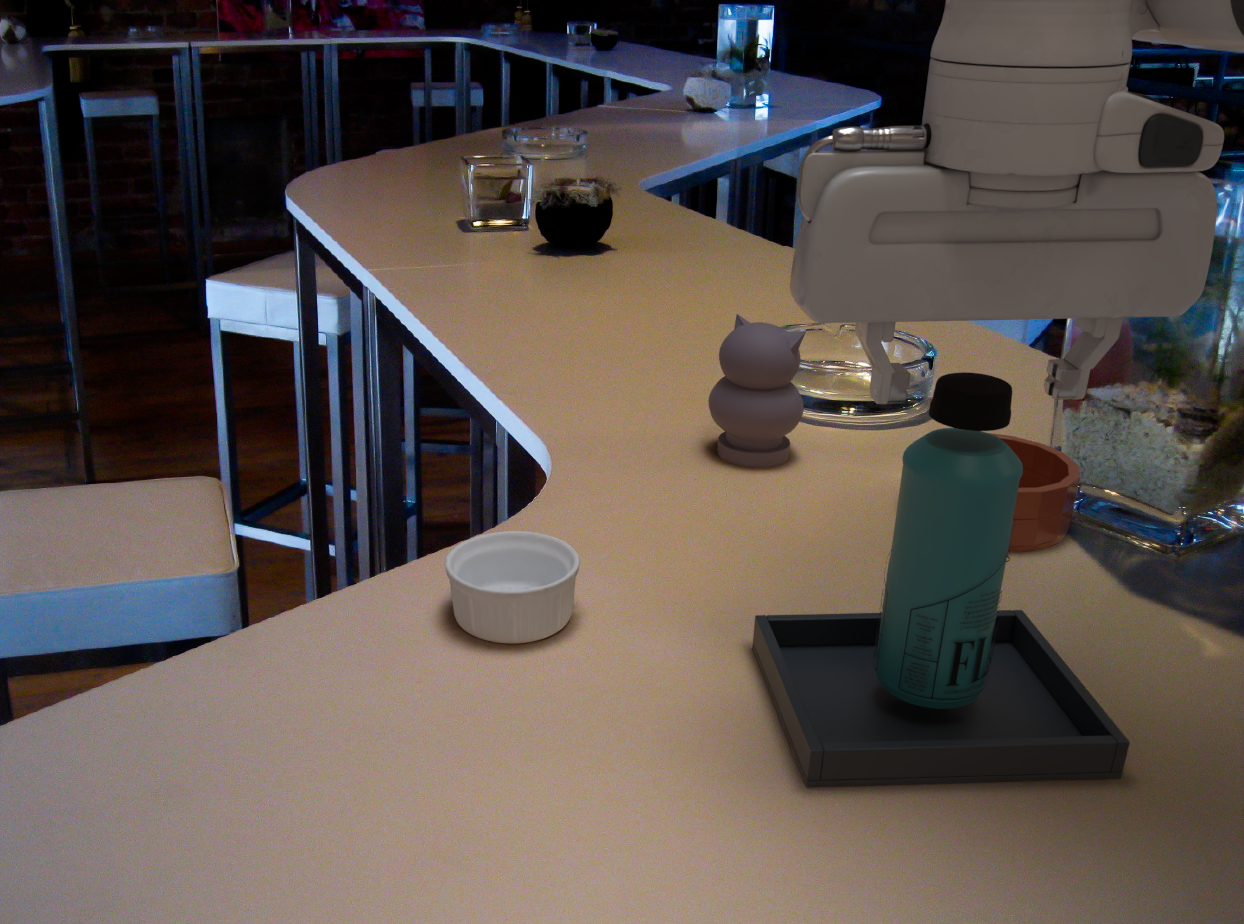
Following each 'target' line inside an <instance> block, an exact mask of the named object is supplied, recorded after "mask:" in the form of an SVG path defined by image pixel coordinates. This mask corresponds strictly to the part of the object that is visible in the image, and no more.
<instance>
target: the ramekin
mask: <svg viewBox="0 0 1244 924" xmlns="http://www.w3.org/2000/svg"><path fill="white" fill-rule="evenodd" d="M580 564H581V559H580V556H579V553H578V552H577V550H576V549H575V548H574V547H573V546H571V545H570V543H568V542H566V541H564V540H562V539H560V538H558V537H555V536H552V535H549V534H546V533H545V534H544V533H541V532H535V531H524V530H522V531H521V530H519V531H518V530H510V531H508V530H506V531H498V532H497V531H496V532H490V533H485V534H481V535H477V536H475V537H471V538H469V539H467V540H464V541H462V542H460V543H459V544H457V545H456V546H454V547H453V548H451V550H450V551H449V552H448V554H447V556H446V557H445V561H444V567H445V569H444V570H445V573H446V576H447V578H448V580H449V586H450V594H451V601H452V609H453V614H454V618H455V620H456V623H457V624H458V625H459V627H460V628H462V629H463V630H464V631H465V632H467V634H469V635H472V636H473V637H476V638H478V639H480V640H484V641H487V642H491V643H498V644H525V643H531V642H536V641H541V640H543V639H545V638H549V637H551V636H553V635H555V634H556V633H558V632H559V631H561V630H562V629H563V628H564V627H565V626H566V625H567V624H568V622H569V621H570V619H571V616H572V614H573V608H574V601H575V590H576V580H577V576H578V574H579V570H580Z"/></svg>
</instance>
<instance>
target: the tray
mask: <svg viewBox="0 0 1244 924" xmlns="http://www.w3.org/2000/svg"><path fill="white" fill-rule="evenodd" d="M998 611H999V609H997V612H998ZM880 613H881V614H880ZM879 614H880V616H879ZM998 614H999V615H998ZM881 616H882V612H855V613H854V612H852V613H849V612H848V613H808V614H807V613H805V614H804V613H803V614H767V615H765V614H758V615H757V614H756V615H755V616H754V625H753V636H752V647H751V649H752V652H753V654H754V657H755V659H756V662H757V664H758V667H759V669H760V672H761V675H762V677H763V679H764V682H765V685H766V687H767V691H768V692H769V695H770V697H771V700H772V703H773V705H774V708H775V711H776V714H777V716H778V718H779V720H780V723H781V726H782V729H783V732H784V734H785V736H786V738H787V741H788V744H789V746H790V749H791V752H792V755H793V757H794V760H795V762H796V765H797V767H798V769H799V772H800V775H801V777H802V780H803V782H804V785H805V787H806V788H807V789H811V788H843V787H845V788H850V787H882V786H883V787H885V786H917V785H919V786H921V785H950V784H951V785H952V784H953V785H955V784H985V783H991V784H992V783H1020V782H1023V783H1025V782H1026V783H1027V782H1056V781H1058V782H1059V781H1092V780H1093V781H1094V780H1121V779H1122V778H1123V777H1122V776H1123V772H1124V767H1125V764H1126V761H1127V756H1128V753H1129V752H1128V751H1129V748H1130V744H1131V742H1130V740H1129V739H1128V738H1127V736H1126V735H1125V734H1124V733H1123V732H1122V730H1121V729H1120V728H1119V727H1118V726H1117V725H1116V723H1115V722H1114V721H1113V719H1112V718H1111V717H1110V716H1109V714H1108V713H1107V712H1106V711H1105V709H1104V708H1103V707H1102V705H1100V703H1099V702H1098V701H1097V700H1096V698H1095V697H1094V696H1093V694H1091V693H1090V691H1089V690H1088V689H1087V687H1086V686H1085V685H1084V684H1083V683H1082V681H1081V680H1080V679H1079V678H1078V676H1077V675H1076V674H1075V673H1074V672H1073V671H1072V669H1071V668H1070V666H1068V664H1067V663H1066V662H1065V660H1064V659H1063V658H1062V657H1061V656H1060V654H1059V653H1058V651H1056V649H1055V648H1054V647H1053V646H1052V644H1050V642H1049V641H1048V639H1047V638H1046V637H1045V635H1044V634H1042V632H1041V631H1040V630H1039V629H1038V627H1037V626H1036V625H1035V624H1034V622H1033V621H1032V620H1031V619H1030V617H1028V615H1027V614H1026V613H1025V611H1024V610H1022V609H1012V610H1011V609H1000V611H999V612H998V613H997V615H996V616H998V617H997V619H998V621H997V622H996V624H995V627H994V631H993V637H992V642H991V648H990V656H991V657H992V659H991V664H990V663H989V659H988V664H987V665H989V668H988V667H987V670H989V671H988V673H987V674H986V675H985V680H986V681H984V682H985V683H984V685H983V688H984V687H985V688H984V689H983V688H982V689H983V690H982V691H981V692H980V694H979V696H978V697H977V698H976V699H975V700H974V701H973V702H972V703H970V704H968V705H966V706H963V707H958V708H952V709H936V708H928V707H922V706H918V705H914V704H911V703H908V702H905V701H903V700H901V699H899V698H897V697H895V696H893V695H892V694H890V693H889V692H888V691H886V690H885V689H884V688H883V687H882V686H881V684H880V683H879V681H878V679H877V675H876V671H875V669H874V667H875V662H874V660H875V661H876V654H877V652H876V651H877V646H878V641H877V640H878V636H879V632H878V631H877V630H879V631H880V623H881ZM879 619H880V620H879ZM878 620H879V621H878ZM878 622H879V624H878ZM877 624H878V627H877ZM997 625H998V626H997ZM996 628H997V632H996V630H995V629H996ZM877 634H878V636H877ZM995 634H996V637H995ZM876 637H877V639H876ZM994 638H995V640H994ZM875 641H876V642H877V644H876V647H875ZM994 641H995V643H994ZM993 643H994V645H993ZM993 646H994V648H993V650H992V647H993ZM992 651H993V654H991V652H992ZM875 652H876V653H875ZM874 653H875V655H874ZM874 657H875V658H874ZM873 664H874V666H873ZM987 670H986V672H987ZM988 674H989V675H988ZM987 676H988V678H987ZM986 678H987V679H988V681H987V679H986ZM985 685H986V686H985Z"/></svg>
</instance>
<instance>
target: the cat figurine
mask: <svg viewBox="0 0 1244 924" xmlns="http://www.w3.org/2000/svg"><path fill="white" fill-rule="evenodd" d="M806 333H807V331H786V329H783V328H781V327H780V326H778V325H775V324H772V323H769V322H762V321H761V322H760V321H757V322H750V321H749V320H747V319H746V318H744V317H743V316H741V315H740V314H739V313H736V316H735V321H734V327H733V330H731V331H730V332H729V333H728V335H726V337H725V338H724V339H723V341H722V342H721V344H720V347H719V351H718V361H719V365H720V369H721V371H722V373H723V375H724V376H723V377H721V378H720V379H719V380H718V381H717V382H716V383H715V385H714V386H713V387H712V389H711V390H710V393H709V395H708V409H709V413H710V416H711V418H712V420H713V421H714V423H715V424H716V425H717V426H718V427H719V428H720V429H721V430H723V431H722V432H721V433H720V434H719V435H718V437H717V448H716V449H717V450H716V451H717V456H719V458H721V459H722V460H724V461H725V462H728V463H730V464H734V465H736V466H741V467H747V468H770V467H775V466H779V465H783V464H784V463H786V462H787V461H788V459H789V458H790V452H791V441H790V438H788V437H787V436H786V435H788V434H790V433H792V431H793V430H795V429H796V428H797V426H798V425H799V423H800V421H801V419H802V417H803V414H804V410H805V409H804V408H805V407H804V406H805V404H804V400H803V397H802V395H801V393H800V391H799V389H798V387H796V385H795V384H794V383H793V382H792V381H793V380H794V378H795V376H796V375H797V373H798V372H799V369H800V365H801V352H800V347H801V344H802V343H803V340H804V337H805V335H806Z"/></svg>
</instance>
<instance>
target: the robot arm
mask: <svg viewBox="0 0 1244 924" xmlns="http://www.w3.org/2000/svg"><path fill="white" fill-rule="evenodd" d="M1133 40H1134V41H1139V42H1145V43H1155V44H1164V45H1176V46H1182V47H1186V48H1188V49H1199V50H1210V51H1221V52H1231V53H1240V54H1244V0H945V4H944V11H943V15H942V18H941V21H940V25H939V27H938V30H937V33H936V34H935V37H934V39H933V42H932V45H931V50H930V60H929V65H928V73H927V80H926V89H925V90H926V91H925V97H924V105H923V113H922V120H921V121H922V122H921V125H919V124H918V125H917V124H916V125H915V124H914V125H913V124H912V125H890V126H883V127H876V128H875V127H873V128H863V127H861V126H843V127H838V128H834V129H833V130H832V132H831V135H828V136H825V137H822V138H820V139H818V140H817V141H815V142H814V143H813V144H812V145H811V146H810V147H809V148H808V149H807V150H806V152H805V153H804V154H803V156H802V159H801V160H800V164H799V167H798V177H797V178H798V179H797V188H796V189H797V190H796V201H797V206H798V209H799V212H800V213H801V215H802V217H801V221H800V224H799V229H798V232H797V237H796V242H795V247H794V252H793V257H792V258H793V259H792V264H791V265H792V266H791V271H790V278H789V280H790V281H789V290H790V294H791V297H792V299H793V300H794V303H795V304H796V306H797V307H798V308H799V309H800V310H801V311H802V312H803V313H804V315H806V316H807V317H808V318H809V319H810V320H812V321H813V322H815V323H817V324H854V333H855V335H856V337H857V339H858V341H859V343H860V345H861V347H862V349H863V351H864V353H865V355H866V357H867V360H868V361H869V363H870V364H871V365H872V366H871V374H870V382H869V394H870V398H871V399H872V400H873V402H874V403H875V404H876V405H889V404H906V403H907V400H908V395H909V393H908V391H907V388H908V387H909V386H910V380H911V372H910V371H909V370H908V369H907V368H905V367H904V365H903V364H901V363H900V362H891V361H890V358H889V356H888V354H887V352H886V349H885V347H884V345H883V343H892V342H893V341H894V337H895V330H896V323H913V322H915V323H916V322H920V323H921V322H961V321H963V322H964V321H966V322H967V321H1012V320H1013V321H1015V320H1016V321H1017V320H1018V321H1019V320H1021V321H1022V320H1065V319H1069V320H1071V319H1075V321H1074V325H1075V326H1076V327H1077V328H1078V329H1080V330H1081V332H1080V334H1079V335H1078V337H1077V338H1076V340H1075V341H1074V342H1073V343H1072V345H1071V347H1070V348H1069V350H1068V351H1067V352H1066V354H1065V355H1064V357H1063V358H1053V359H1052V358H1051V359H1048V361H1047V367H1046V373H1047V376H1046V377H1045V379H1044V384H1043V388H1044V392H1045V394H1046V395H1047V396H1050V397H1051V399H1053V400H1054V401H1068V400H1069V401H1071V400H1072V401H1074V400H1076V401H1077V400H1083V399H1084V398H1085V396H1086V394H1087V390H1088V383H1089V378H1090V374H1091V370H1093V369H1094V368H1095V367H1096V366H1097V365H1098V363H1100V361H1101V360H1102V359H1103V358H1104V357H1105V355H1106V354H1107V353H1108V352H1109V351H1110V349H1111V348H1112V347H1113V346H1114V344H1115V343H1116V342H1117V341H1118V340H1119V339H1120V334H1121V331H1122V325H1123V322H1124V321H1123V320H1124V318H1163V317H1164V318H1166V317H1170V318H1172V317H1180V316H1182V315H1184V313H1186V312H1187V311H1188V310H1189V309H1191V307H1192V306H1193V305H1194V304H1195V303H1196V302H1197V301H1198V300H1200V297H1201V296H1202V294H1203V292H1204V289H1205V285H1206V281H1207V277H1208V273H1209V269H1210V264H1211V258H1212V253H1213V249H1214V248H1213V247H1214V240H1215V233H1216V227H1217V226H1216V225H1217V215H1218V198H1217V193H1216V189H1215V186H1214V184H1213V183H1212V181H1211V180H1210V179H1209V177H1208V176H1207V175H1205V174H1203V173H1201V172H1204V171H1207V170H1210V169H1211V168H1213V167H1214V166H1215V165H1216V163H1217V162H1218V160H1219V159H1220V156H1221V153H1222V150H1223V146H1224V141H1225V132H1224V129H1223V127H1222V126H1221V125H1219V124H1218V123H1216V122H1214V121H1211V120H1209V119H1206V118H1203V117H1201V116H1198V115H1194V114H1192V113H1189V112H1186V111H1183V110H1180V109H1177V108H1174V107H1172V106H1169V105H1165V104H1163V103H1160V100H1159V99H1158V98H1155V97H1153V96H1151V95H1148V94H1144V93H1140V92H1139V93H1138V92H1133V91H1129V87H1128V86H1127V83H1128V79H1129V73H1130V67H1131V62H1132V58H1133V57H1132V56H1133ZM827 146H831V149H832V150H821V149H823V148H825V147H827ZM882 342H883V343H882Z"/></svg>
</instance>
